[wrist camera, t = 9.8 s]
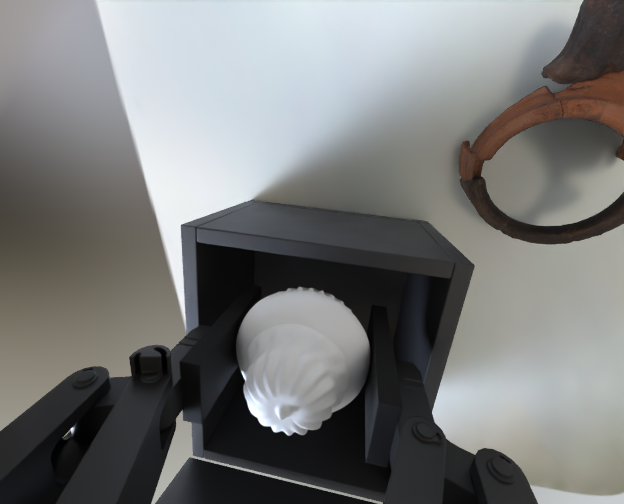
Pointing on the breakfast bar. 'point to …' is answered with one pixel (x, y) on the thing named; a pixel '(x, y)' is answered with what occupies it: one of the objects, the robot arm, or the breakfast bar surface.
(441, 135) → the breakfast bar surface
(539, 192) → the breakfast bar surface
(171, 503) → the lid
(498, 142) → the broken terracotta ring
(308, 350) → the muffin
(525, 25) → the breakfast bar surface
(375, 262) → the open cubby box
